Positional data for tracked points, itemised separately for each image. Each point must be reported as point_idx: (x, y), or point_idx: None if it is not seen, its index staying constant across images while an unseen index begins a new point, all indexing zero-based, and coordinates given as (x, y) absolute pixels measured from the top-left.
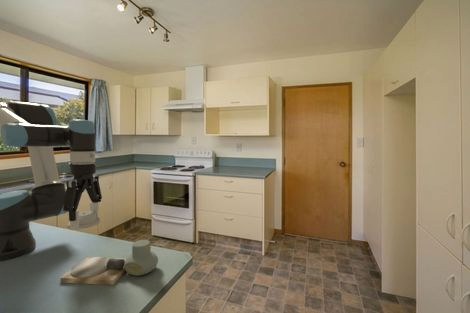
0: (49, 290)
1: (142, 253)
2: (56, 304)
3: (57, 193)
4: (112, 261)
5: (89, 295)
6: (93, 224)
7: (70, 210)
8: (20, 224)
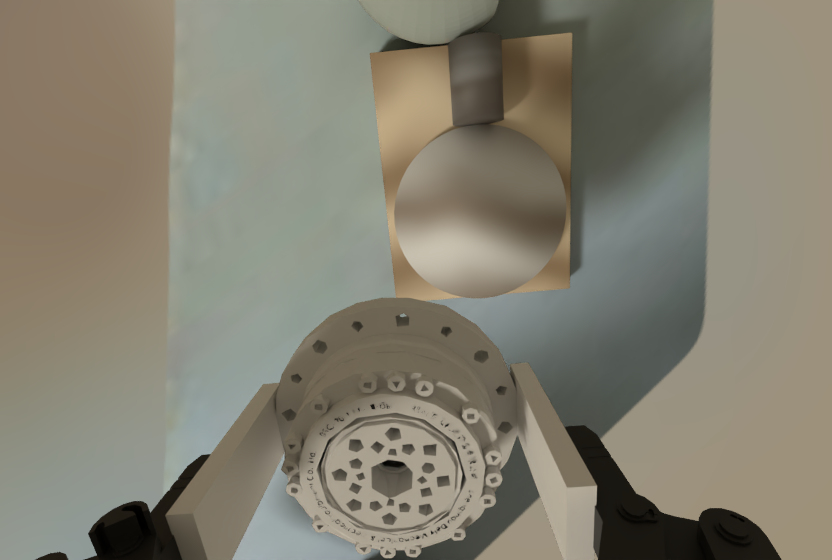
0: (611, 281)
1: None
2: (687, 188)
3: None
4: (494, 88)
5: (635, 99)
6: (433, 306)
7: (747, 519)
8: None
